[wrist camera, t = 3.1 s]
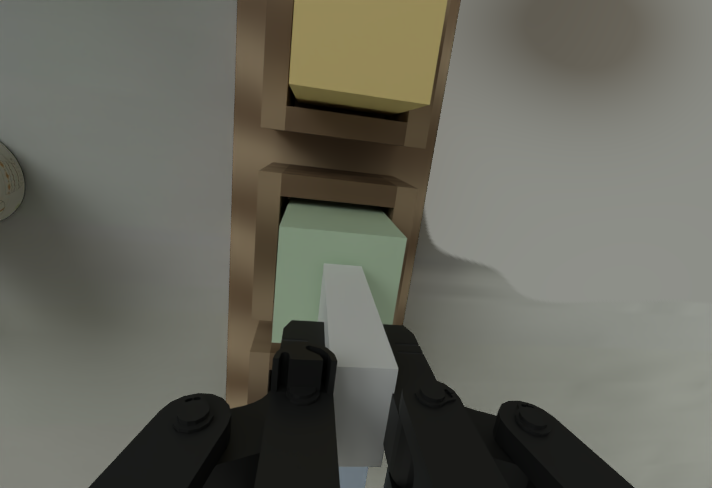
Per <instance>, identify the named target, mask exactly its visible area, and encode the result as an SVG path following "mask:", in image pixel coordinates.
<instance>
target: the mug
mask: <svg viewBox="0 0 712 488" xmlns="http://www.w3.org/2000/svg"><path fill="white" fill-rule="evenodd" d="M24 190H25V183H24V177H23V173H22V170H21V168H20V165H19V164H18V162H17V160H16V159H15V157H14V156H13V154H12V153H11V152H10V151H9V150H8V149H7V148H6V147H5V146H4V145H3V144H2V143H1V142H0V221H1V220H3V219H5V218H7V217H8V216H10V215H11V214H12V213H13V212H14V211H15V210H16V209H17V208H18V207H19V205H20V204H21V202H22V199H23V196H24Z"/></svg>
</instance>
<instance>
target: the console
mask: <svg viewBox="0 0 712 488" xmlns="http://www.w3.org/2000/svg"><path fill="white" fill-rule="evenodd" d="M460 1H461V0H447V6H446V12H445V18H444V24H443V30H442V36H441V42H440V47H439V53H438V59H437V65H436V71H435V77H434V83H433V89H432V95H431V100H430V105H427V106H424V107H420V108H416V109H413V110H409V111H406V112H402V113H399V114H395V115H391V116H389V115H382V114H375V113H368V112H361V111H354V110H346V109H339V108H332V107H325V106H318V105H311V104H304V103H298V101H297V99H296V97H295V95H294V93H293V91H292V89H291V87H290V85H289V74H290V59H291V44H292V29H293V14H294V0H237V34H236V69H235V104H234V139H233V174H232V209H231V244H230V278H229V313H228V348H227V383H226V402H227V403H228V404H229V406H230V409H231V408H235V407H240V406H244V405H248V404H251V403H254V402H256V401H258V400H260V399H262V398H263V397H264V396H265V395H267V394H268V393H269V391H270V390H271V377H272V363H273V357H274V355H275V353H276V351H278V350H279V349H280V346H281V343H272V328H273V313H274V298H275V283H276V268H277V253H278V238H279V226H280V223H281V221H282V218H283V216H284V213H285V211H286V208H287V206H288V203H289V201H290V198H291V197H296V198H305V199H315V200H324V201H334V202H343V203H353V204H363V205H372V206H378V207H379V208H380V209H381V210H382V211H383V212H384V213H385V214H386V216H387V217H388V218H389V219H390V220H391V221H392V222H393V223H394V224H395V225H396V227H397V228H398V229H399V230H400V231H401V232H402V233H403V234H404V235H405V236H406V238H407V242H406V248H405V253H404V259H403V265H402V271H401V277H400V283H399V289H398V295H397V301H396V307H395V312H394V318H393V324H392V325H403V320H404V315H405V309H406V304H407V298H408V292H409V287H410V281H411V276H412V270H413V264H414V259H415V253H416V248H417V242H418V236H419V231H420V225H421V220H422V214H423V209H424V203H425V197H426V192H427V186H428V181H429V175H430V169H431V164H432V158H433V153H434V146H435V141H436V136H437V130H438V124H439V119H440V113H441V107H442V102H443V97H444V91H445V85H446V80H447V74H448V68H449V63H450V57H451V52H452V46H453V41H454V35H455V29H456V23H457V18H458V12H459V7H460Z"/></svg>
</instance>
